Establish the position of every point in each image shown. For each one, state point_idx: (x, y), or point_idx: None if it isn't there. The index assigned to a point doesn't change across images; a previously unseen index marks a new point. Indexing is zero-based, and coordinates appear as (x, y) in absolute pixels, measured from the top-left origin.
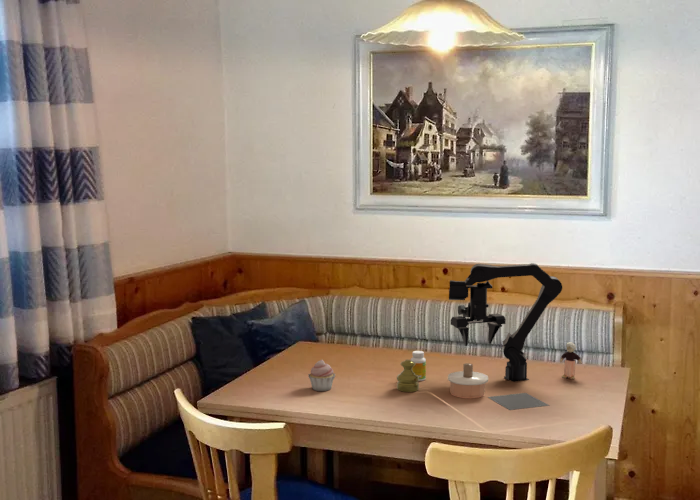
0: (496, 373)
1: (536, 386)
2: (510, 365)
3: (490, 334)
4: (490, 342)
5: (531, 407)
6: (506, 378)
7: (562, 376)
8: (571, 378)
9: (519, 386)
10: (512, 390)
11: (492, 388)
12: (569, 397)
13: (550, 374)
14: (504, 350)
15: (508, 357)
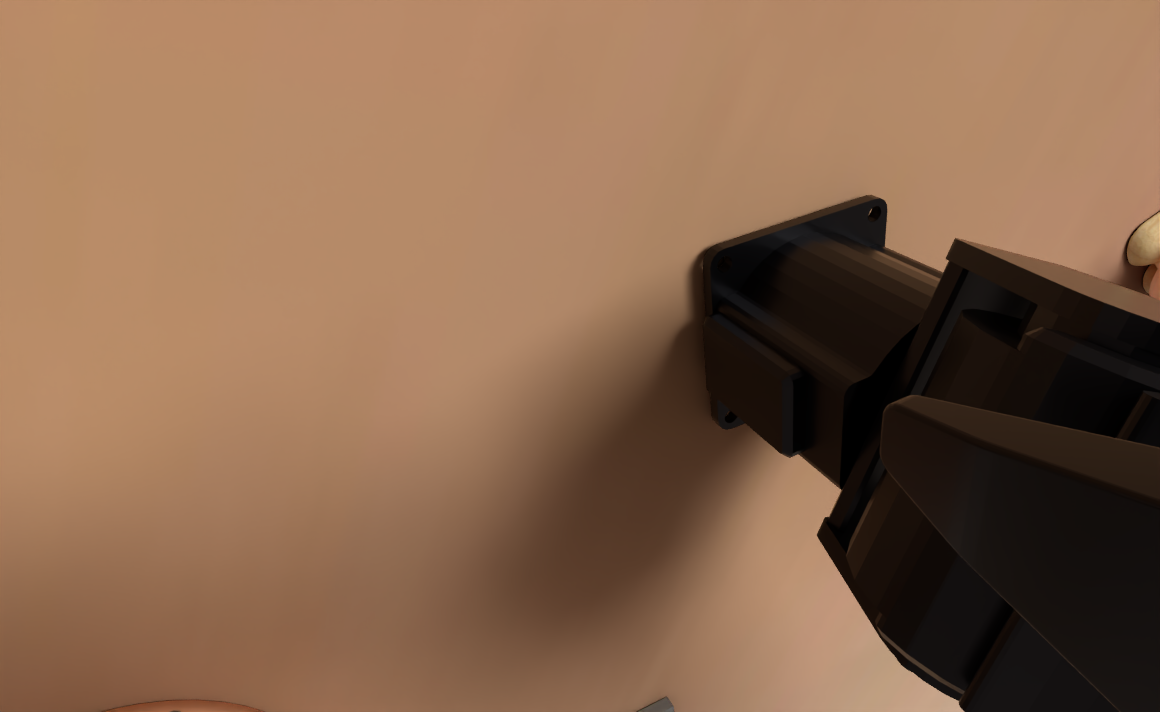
0: (706, 13)
1: (832, 500)
2: (823, 464)
3: (1131, 619)
4: (915, 499)
5: None
6: (708, 314)
7: (1135, 249)
8: (1147, 292)
9: (714, 517)
10: (612, 630)
11: (455, 609)
12: (876, 688)
13: (1122, 140)
14: (907, 653)
15: (860, 603)
